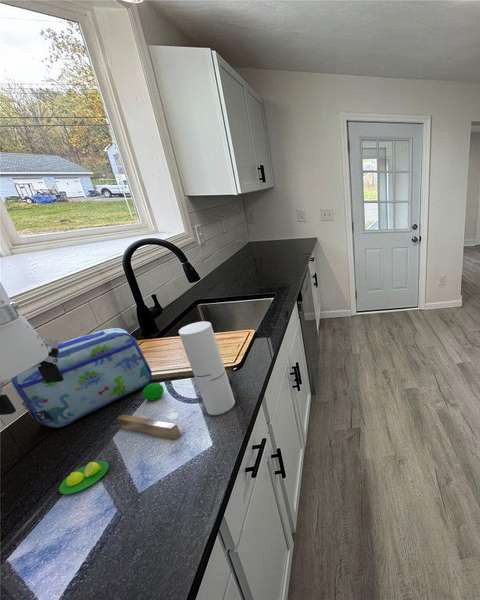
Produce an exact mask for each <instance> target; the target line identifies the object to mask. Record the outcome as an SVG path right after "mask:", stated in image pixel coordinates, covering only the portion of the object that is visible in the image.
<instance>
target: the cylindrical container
mask: <svg viewBox="0 0 480 600" xmlns="http://www.w3.org/2000/svg"><path fill="white" fill-rule="evenodd" d="M178 334H179V338H180V340H181V343H182V346H183V350H184V352H185V355H186V357H187V360H188V363H189V365H190V368H191V371H192V374H193V376H194V380H195V382H196V385H197V388H198V391H199V393H200V397H201V399H202V402H203V405H204V408H205V410H206V413H207V414H208V415H209V416H218V415H223V414H224V413H227V412H228V411H230V410H231V409H232V408H233V407H234V406H235V404H236V400H235V397H234V393H233V390H232V387H231V384H230V381H229V378H228V374H227V371H226V368H225V364H224V362H223V361H224V360H223V358H222V355H221V351H220V348H219V344H218V341H217V338H216V336H215V333H214V328H213V326H212V323H211V322H210V321H195V322H193V323H189V324H187V325H184V326H183V327H181V328H180V329H179V330H178Z"/></svg>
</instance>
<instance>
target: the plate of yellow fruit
mask: <svg viewBox="0 0 480 600" xmlns="http://www.w3.org/2000/svg"><path fill="white" fill-rule="evenodd" d="M109 466H110V465H109V462H107V461H104V460H98V461H90V462H88V463H87V464H85V465H83V466H81V467H80V468H78V469H76V470H74V471H72V472H71V473H70V474H69V475H68V476H66V477H65V478H64V480H62V482H61V483H60V485H59V487H58V490H59V492H60V493H61V494H63V495H70V494H74V493H77V492H80V491H83V490H85V489H86V488H88V487H90V486H92V485H93V484H95V483H96V482H97V481H99V480H100V479H101V478H102V477H103V476H104V475H105V474H106V473H107V471H108V469H109Z"/></svg>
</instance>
